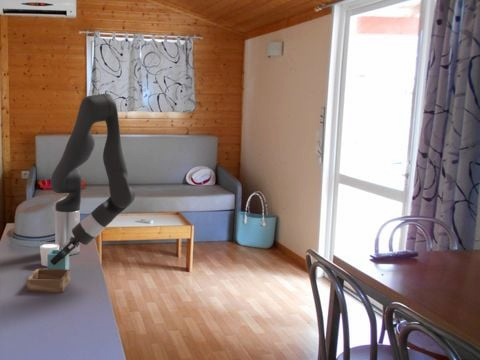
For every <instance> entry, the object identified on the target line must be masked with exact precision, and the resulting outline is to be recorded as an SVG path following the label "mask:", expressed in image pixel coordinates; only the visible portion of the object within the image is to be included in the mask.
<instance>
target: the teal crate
mask: <svg viewBox="0 0 480 360" xmlns="http://www.w3.org/2000/svg"><path fill="white" fill-rule="evenodd" d="M60 251H61V250H51V251H50V252H49V253H48V266H47V269H66V270H70V255H69V254H67V255H66V256H65V258H63V259H61V260H60V261H59V262H58V263H57V264H56V265H53V264H52V263H51V262H50V260H51V259H52V258H53V257H55V256H56V255H57V254H58V252H60ZM61 253H62V254H64V255H65V254H66V252H65V251H64V250H63V251H62V252H61Z"/></svg>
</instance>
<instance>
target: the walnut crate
mask: <svg viewBox="0 0 480 360" xmlns="http://www.w3.org/2000/svg"><path fill="white" fill-rule="evenodd" d="M26 280H27V281H26V287H27V288H26V289H27V291H26V292H27V293H61V294H63V293H64V292H65V290H66V288H67V286H68V285H69V284H70V282H71V269H69V270H66V269H48V268H36V269H35V270H34V271H33V272H32V273H31V275H30V276H29V277H28V278H27V279H26Z"/></svg>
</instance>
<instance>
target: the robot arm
mask: <svg viewBox="0 0 480 360" xmlns="http://www.w3.org/2000/svg"><path fill="white" fill-rule="evenodd" d="M77 112H78V113H77V116H76V119H75V123H74V126H73V129H72V132H71V134H70V136H69V138H68V141H67V142H66V146H65V148H64V150H63V153H62V156H61V158H60V159H59V162H58V163H57V165H56V167H55V169H54V170H53V172H52V174H51V178H50V188H51V190H52V192H54V193H55V194H56V193H57V194H68V195H67V196H66V197H65V198H63V199H61V200H59V201H57V202H56V203H55V206H54V207H55V213H54V214H55V221H54V222H55V225H54V226H55V236H54V238H55V241H54V242H55V243H54V244H58V245H59V250H61V251H60V252H58V254H57V255H56V256H55V257H53V258H52V259H51V260H50V262H51V263H52V264H53V265H56V264H57V263H58V262H59V261H60V260H61V259H63V258H65V256H66V255H67V254H69V256H72V255H77V254H79V253H80V245H81V244H82V245H84V246H87V245H90V243H91V242H92V241H93V240H95V238H97V236H99V235H100V234H101V233H102V231H103V230H104V229H106V227H107V226H108V225H109V224H110V223H111V222H113V220H114V219H116V217H118V215H119V214H120V213H122V212H123V211H125V210H126V209H127V208H128V207H129V206H131V204H132V203H133V202H134V201H135V198H136V193H135V190H134V189H133V188H132V187H131V186H129V181H128V176H129V175H128V173H129V172H128V168H127V165H126V161H125V157H124V153H123V148H122V140H121V139H122V138H121V130H120V129H121V128H120V124H119V123H120V122H119V121H120V120H119V112H118V106H117V103H116V100H115V99H114V97H113V96H112V95H111V94H110V93H100V94H91V95H87V96H85V97H84V98H82V100H81V101H80V105H79V107H78V111H77ZM101 122H102V123H103V122H105V125H106V130H107V131H106V133H107V134H106V138H105V139H106V140H105V144H104V148H103V151H102V152H103V153H102V159H103V160H102V161H103V165H104V169H105V173H106V175H107V179H108V189H109V194H110V195H109V197H108V198H107V199H106V200H105V201H104V202H102V203H100V204H99V205H98V206H96V208H94V210H92V211H91V212H90V213H89V214H87V215H86V216H85V217H84V218H82V220H81V214H80V213H81V203H82V200H81V199H82V198H81V197H82V183H83V182H82V181H83V180H82V174H81V172H80V171H79V169H78V168H79V167H80V166H82V165H83V164H85V163H87V162H88V160H89V159H90V157H91V155H92V153H93V152H94V148H95V144H96V143H95V139H94V136H93V135H92V133H91V130H92V127H93V125H94V124H97V123H101ZM80 243H81V244H80ZM63 250H64V251H65V252H66V254H65V255H64V254H62V253H61V252H62V251H63Z"/></svg>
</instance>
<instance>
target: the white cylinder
mask: <svg viewBox="0 0 480 360" xmlns="http://www.w3.org/2000/svg"><path fill="white" fill-rule="evenodd" d="M51 250H59V245H58V244H55V243H44V244H41V245H39V252H40V261H41V263H40V264H41V266H43V267H48V253H49V252H50V251H51Z"/></svg>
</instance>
